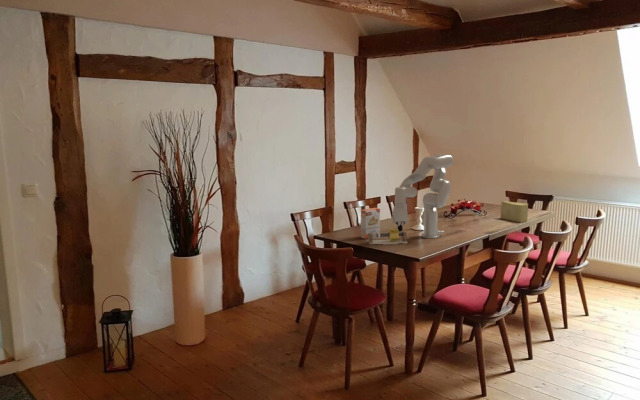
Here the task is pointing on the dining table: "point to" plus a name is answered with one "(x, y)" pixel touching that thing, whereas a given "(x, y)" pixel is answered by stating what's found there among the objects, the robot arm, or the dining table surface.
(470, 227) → the dining table surface
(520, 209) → the cheese
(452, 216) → the dining table surface
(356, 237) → the dining table surface
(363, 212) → the cracker box
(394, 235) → the yellow block
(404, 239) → the cord rail
